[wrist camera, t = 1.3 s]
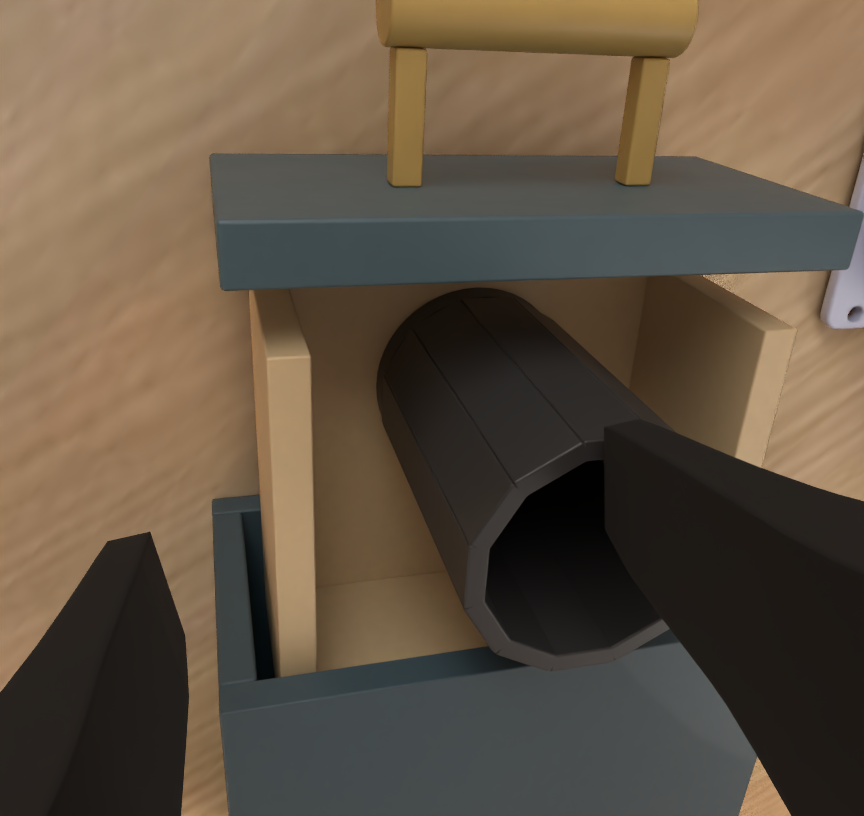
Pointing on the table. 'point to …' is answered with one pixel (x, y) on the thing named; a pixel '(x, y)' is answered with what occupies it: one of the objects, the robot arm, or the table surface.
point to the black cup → (516, 474)
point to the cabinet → (460, 723)
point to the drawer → (486, 268)
